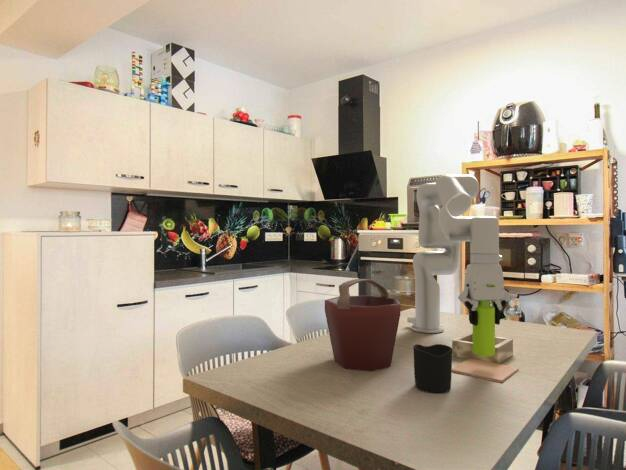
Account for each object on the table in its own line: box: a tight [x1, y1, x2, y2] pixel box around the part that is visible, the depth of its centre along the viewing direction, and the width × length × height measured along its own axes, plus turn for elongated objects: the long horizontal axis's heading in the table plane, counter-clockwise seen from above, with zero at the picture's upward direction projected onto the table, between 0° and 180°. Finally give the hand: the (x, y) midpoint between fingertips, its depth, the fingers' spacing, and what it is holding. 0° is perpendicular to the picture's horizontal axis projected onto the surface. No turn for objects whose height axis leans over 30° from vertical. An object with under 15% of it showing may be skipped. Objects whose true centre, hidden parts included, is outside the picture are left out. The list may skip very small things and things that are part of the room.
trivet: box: [451, 359, 520, 383], centre depth 121 cm, size 14×14×1 cm
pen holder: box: [412, 343, 453, 394], centre depth 108 cm, size 9×9×10 cm
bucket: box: [324, 278, 401, 372], centre depth 130 cm, size 24×22×25 cm
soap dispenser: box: [472, 284, 496, 356], centre depth 121 cm, size 6×7×20 cm
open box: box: [451, 332, 514, 364], centre depth 137 cm, size 14×14×5 cm
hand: (484, 323), depth 121 cm, fingers closed on soap dispenser, 5 cm apart
